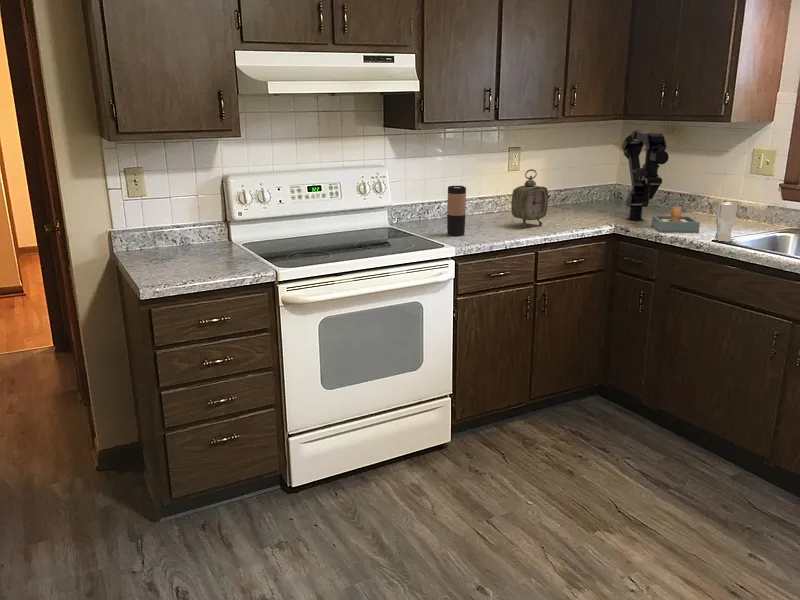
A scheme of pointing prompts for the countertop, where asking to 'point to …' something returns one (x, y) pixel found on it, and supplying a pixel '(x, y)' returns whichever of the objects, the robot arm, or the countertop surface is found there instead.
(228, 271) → the countertop surface
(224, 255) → the countertop surface
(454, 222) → the travel mug
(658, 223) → the open box
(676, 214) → the peg
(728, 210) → the beer glass
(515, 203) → the tabletop clock
